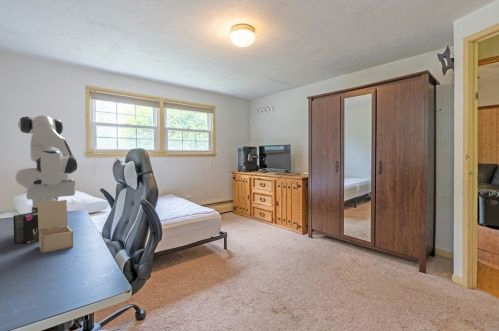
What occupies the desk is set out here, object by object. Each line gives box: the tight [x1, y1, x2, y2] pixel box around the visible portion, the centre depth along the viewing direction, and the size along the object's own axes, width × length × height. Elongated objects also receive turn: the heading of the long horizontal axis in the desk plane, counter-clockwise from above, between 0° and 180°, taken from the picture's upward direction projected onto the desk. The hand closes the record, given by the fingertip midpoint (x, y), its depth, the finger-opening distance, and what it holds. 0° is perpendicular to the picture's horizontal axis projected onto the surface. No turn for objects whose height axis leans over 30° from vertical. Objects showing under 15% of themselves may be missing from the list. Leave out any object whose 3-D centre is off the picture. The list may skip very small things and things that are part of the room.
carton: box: [38, 225, 74, 254], centre depth 123 cm, size 14×12×8 cm
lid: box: [38, 199, 68, 230], centre depth 129 cm, size 14×12×1 cm
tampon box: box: [13, 211, 46, 245], centre depth 133 cm, size 11×9×15 cm
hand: (52, 205), depth 130 cm, fingers closed, pressing on lid
